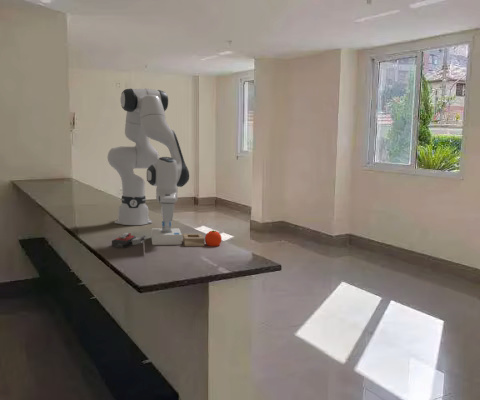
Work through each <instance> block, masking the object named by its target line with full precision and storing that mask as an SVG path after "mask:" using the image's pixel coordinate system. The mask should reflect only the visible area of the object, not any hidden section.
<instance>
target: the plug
mask: <svg viewBox="0 0 480 400" xmlns="http://www.w3.org/2000/svg"><path fill="white" fill-rule="evenodd" d="M161 228H162V233H171V228H172V221H170V223H169V230H165V223H164V221H163V220H162V221H161Z"/></svg>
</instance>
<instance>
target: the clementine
mask: <svg viewBox="0 0 480 400" xmlns="http://www.w3.org/2000/svg"><path fill="white" fill-rule="evenodd" d="M204 238H205V239H204V243H206V245H207V246H209V247H218V246H220V245H221V244H222V235H221V234H220V232H219V231H216V230H213V229H212V230H210V231H208V232H207V233H206V234H205V237H204Z"/></svg>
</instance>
